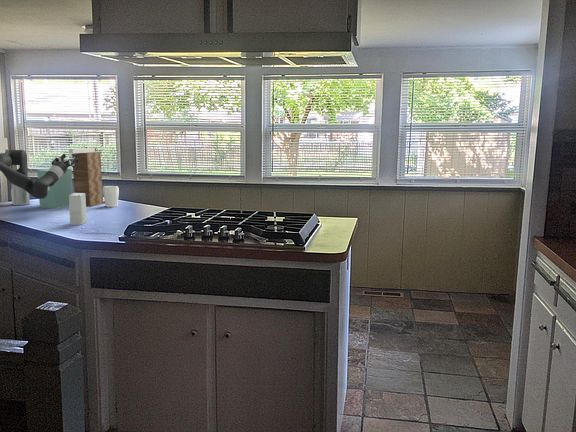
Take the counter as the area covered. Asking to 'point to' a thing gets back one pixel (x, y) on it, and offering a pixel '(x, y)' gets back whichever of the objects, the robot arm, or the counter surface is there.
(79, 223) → the skincare box
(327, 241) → the counter surface
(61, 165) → the robot arm
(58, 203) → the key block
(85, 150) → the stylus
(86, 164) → the stand
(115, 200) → the cup
